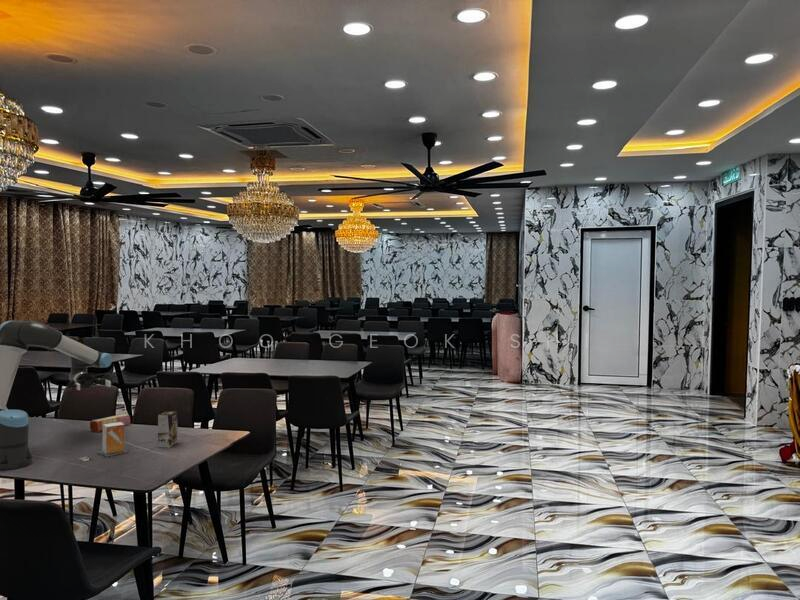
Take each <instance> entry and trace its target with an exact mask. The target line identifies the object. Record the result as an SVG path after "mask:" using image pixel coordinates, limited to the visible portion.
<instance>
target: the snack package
mask: <svg viewBox="0 0 800 600" xmlns="http://www.w3.org/2000/svg"><path fill="white" fill-rule="evenodd" d="M118 422H121V423H123V424H124V425H126V426H129V425H130V424H131V416H130V414H127V413H122V414H119V415H118V414H117V415H112V416H107V417H103V418H98V419H92V420H91V421H90V423H89V429H90V431H91V432H92V431H93V433H96V432H97V433H101V432H103V424H110V423H118ZM100 431H101V432H100Z"/></svg>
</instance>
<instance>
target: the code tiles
mask: <svg viewBox="0 0 800 600" xmlns="http://www.w3.org/2000/svg"><path fill="white" fill-rule="evenodd" d="M87 457H88V456H82V457H79V458H78V460H80V461H83V462H86V461H90V460H89V458H90V457H89V458H87ZM86 458H87V459H86Z"/></svg>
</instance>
